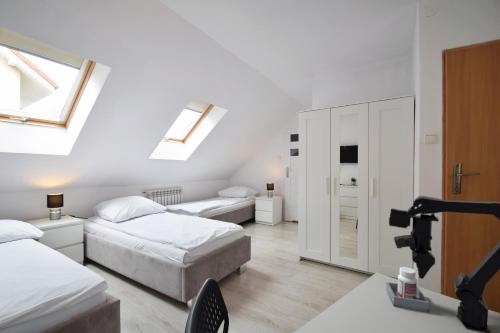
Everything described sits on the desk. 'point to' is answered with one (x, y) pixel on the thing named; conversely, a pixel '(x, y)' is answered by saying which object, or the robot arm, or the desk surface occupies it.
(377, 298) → the desk surface
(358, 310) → the desk surface
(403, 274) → the pill bottle
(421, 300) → the slate tray
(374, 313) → the desk surface
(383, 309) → the desk surface
